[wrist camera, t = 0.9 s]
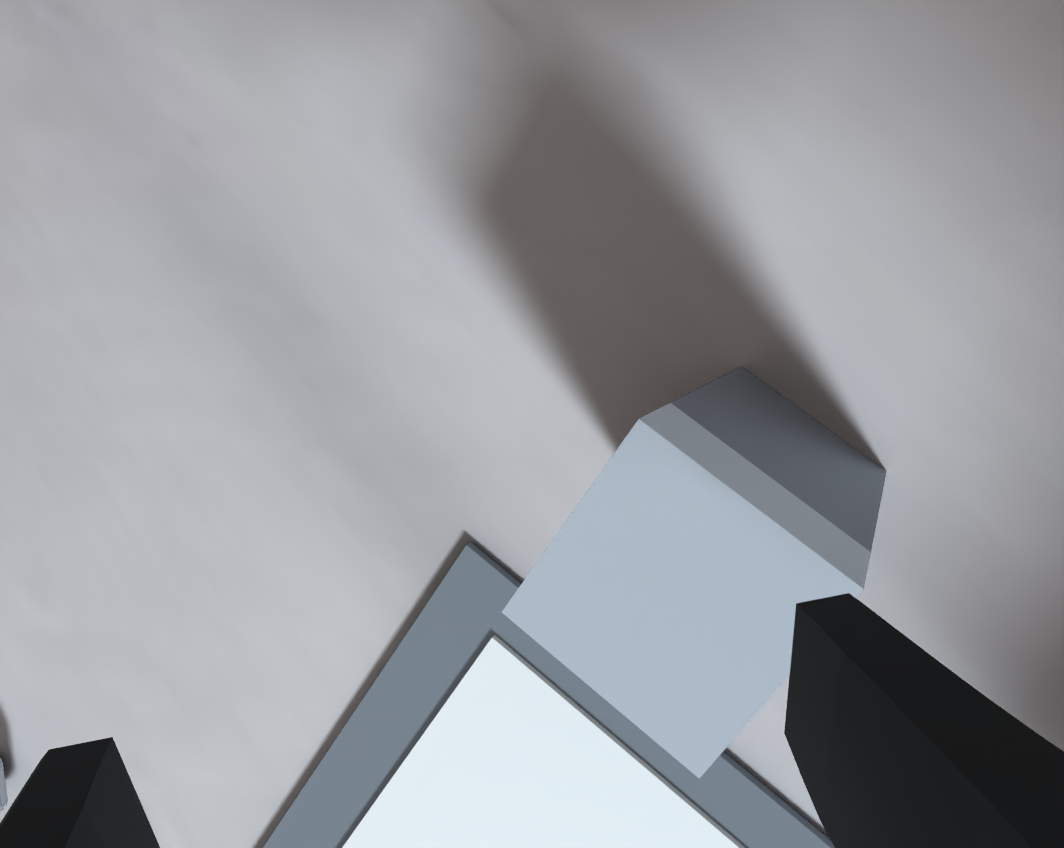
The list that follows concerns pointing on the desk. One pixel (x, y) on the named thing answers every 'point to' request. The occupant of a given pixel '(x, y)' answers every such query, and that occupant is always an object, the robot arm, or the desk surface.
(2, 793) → the wristwatch
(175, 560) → the desk surface
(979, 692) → the robot arm
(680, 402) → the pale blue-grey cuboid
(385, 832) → the desk mat
